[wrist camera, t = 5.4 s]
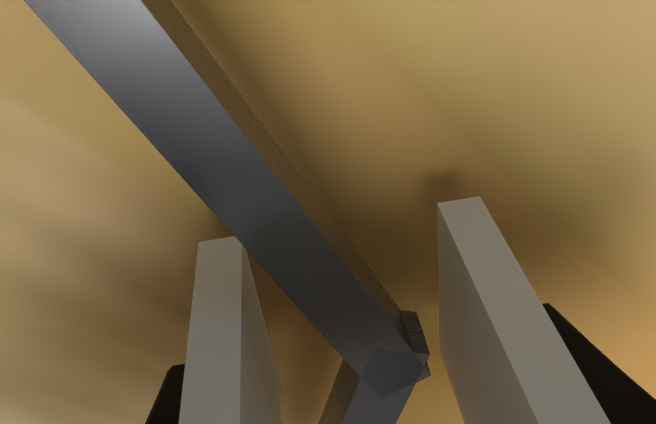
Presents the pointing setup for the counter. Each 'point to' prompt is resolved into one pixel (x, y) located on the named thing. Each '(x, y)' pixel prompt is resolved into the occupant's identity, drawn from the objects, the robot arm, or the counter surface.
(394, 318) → the grey lever handle
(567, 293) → the counter surface
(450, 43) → the counter surface
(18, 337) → the counter surface
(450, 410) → the counter surface
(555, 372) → the grey u-shaped block
